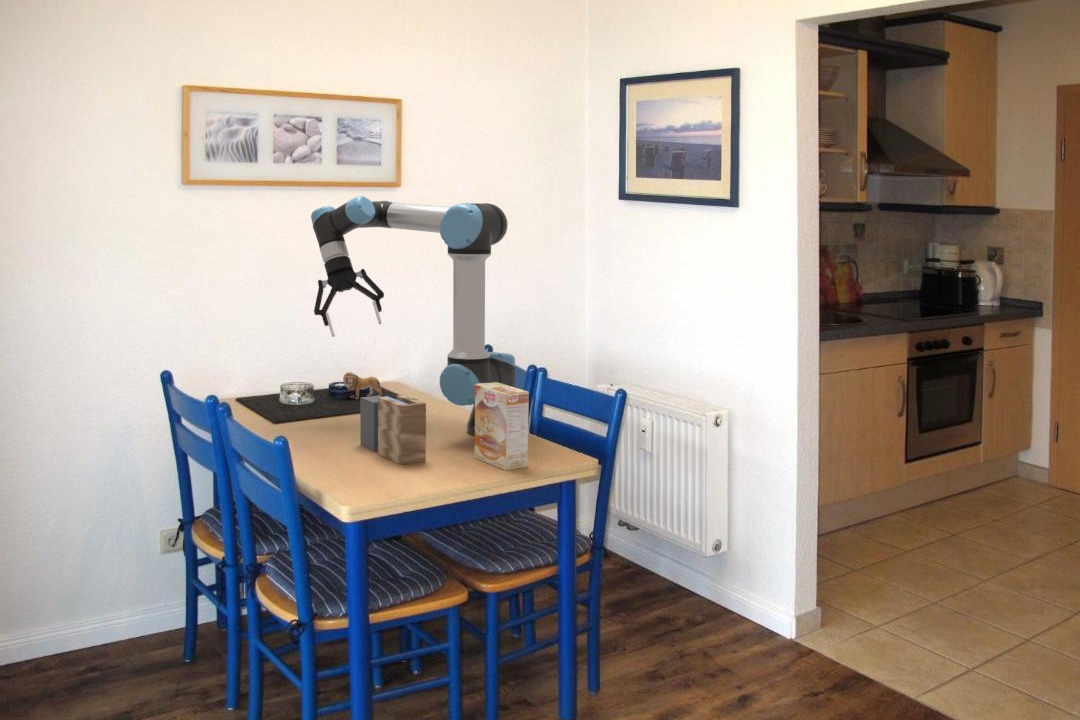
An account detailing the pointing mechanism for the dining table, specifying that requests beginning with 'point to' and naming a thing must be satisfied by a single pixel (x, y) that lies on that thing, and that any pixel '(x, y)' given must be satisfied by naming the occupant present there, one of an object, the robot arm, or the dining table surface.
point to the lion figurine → (361, 384)
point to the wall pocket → (402, 430)
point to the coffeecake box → (501, 425)
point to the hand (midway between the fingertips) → (356, 329)
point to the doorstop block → (369, 422)
